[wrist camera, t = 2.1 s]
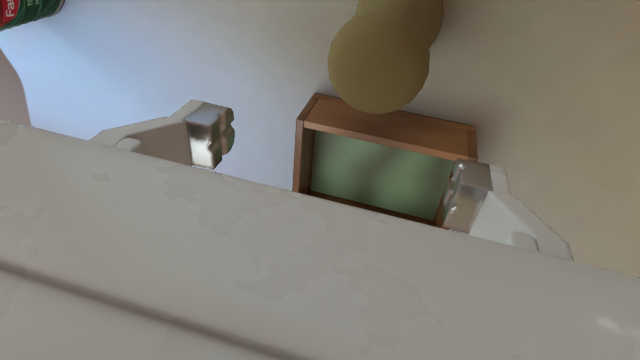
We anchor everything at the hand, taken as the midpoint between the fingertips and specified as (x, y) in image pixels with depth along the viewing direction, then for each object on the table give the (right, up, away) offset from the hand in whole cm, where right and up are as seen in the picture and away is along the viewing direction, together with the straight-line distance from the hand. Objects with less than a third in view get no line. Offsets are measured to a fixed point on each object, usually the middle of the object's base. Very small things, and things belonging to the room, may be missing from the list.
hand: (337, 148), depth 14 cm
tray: (+4, -3, +24) cm, 24 cm away
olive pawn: (+5, +10, +14) cm, 18 cm away
